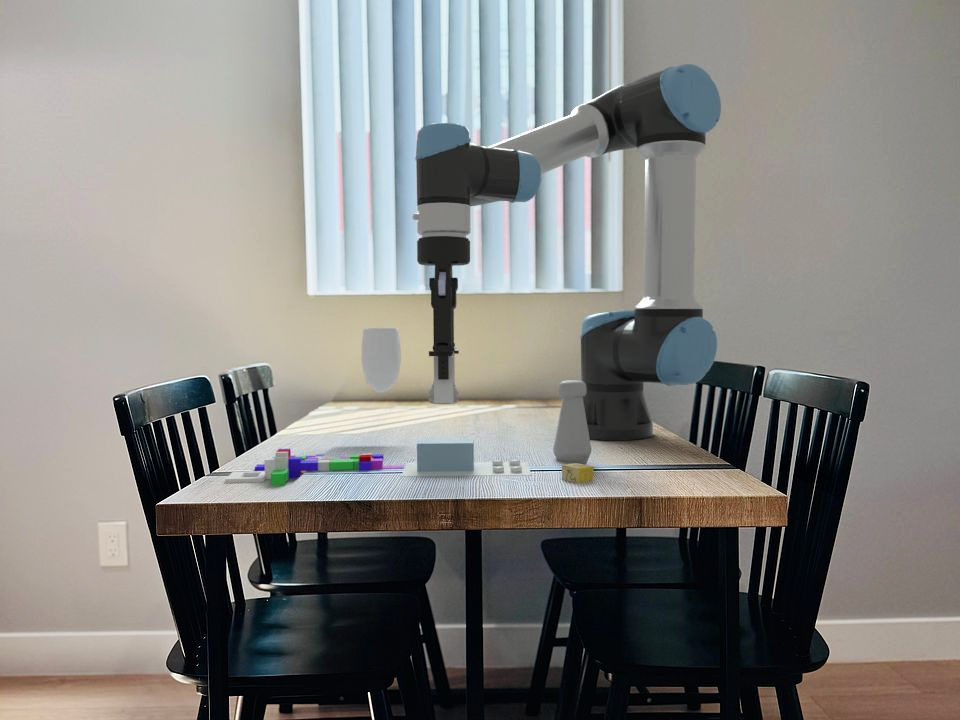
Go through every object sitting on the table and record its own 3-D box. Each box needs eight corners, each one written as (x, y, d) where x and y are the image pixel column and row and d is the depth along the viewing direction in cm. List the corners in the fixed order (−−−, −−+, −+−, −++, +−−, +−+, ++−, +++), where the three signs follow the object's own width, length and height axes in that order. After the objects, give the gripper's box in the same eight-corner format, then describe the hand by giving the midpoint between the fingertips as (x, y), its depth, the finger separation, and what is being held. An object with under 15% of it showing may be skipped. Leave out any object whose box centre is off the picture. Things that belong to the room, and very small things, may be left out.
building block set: (403, 458, 132) (403, 431, 132) (405, 486, 112) (404, 454, 112) (248, 463, 130) (247, 435, 129) (221, 491, 109) (220, 459, 109)
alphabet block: (576, 484, 110) (576, 462, 110) (593, 487, 107) (593, 465, 107) (561, 487, 108) (561, 464, 108) (578, 491, 105) (578, 468, 105)
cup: (366, 438, 150) (364, 327, 149) (404, 438, 150) (403, 327, 149) (359, 444, 143) (357, 328, 142) (399, 444, 143) (397, 328, 142)
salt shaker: (578, 470, 119) (578, 382, 118) (546, 466, 122) (545, 381, 121) (598, 464, 123) (598, 380, 122) (566, 460, 127) (565, 378, 126)
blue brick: (473, 465, 118) (473, 438, 117) (473, 471, 114) (473, 443, 113) (419, 466, 118) (419, 439, 117) (417, 471, 114) (416, 443, 113)
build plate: (527, 468, 121) (527, 457, 121) (531, 482, 111) (531, 470, 111) (407, 469, 121) (407, 458, 121) (401, 483, 111) (400, 471, 111)
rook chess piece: (458, 404, 113) (458, 347, 112) (426, 404, 113) (426, 347, 112) (459, 401, 117) (459, 346, 117) (429, 401, 117) (429, 346, 117)
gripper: (421, 242, 122) (422, 394, 124) (411, 230, 105) (413, 408, 106) (470, 242, 122) (471, 394, 124) (469, 230, 105) (469, 407, 106)
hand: (444, 400), depth 115 cm, fingers closed on rook chess piece, 4 cm apart
